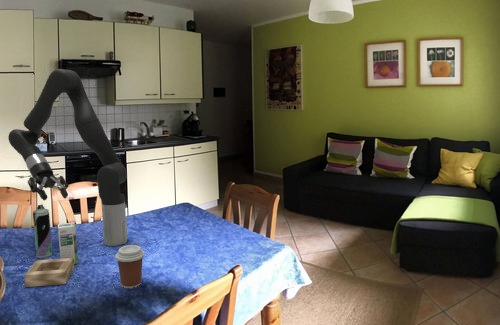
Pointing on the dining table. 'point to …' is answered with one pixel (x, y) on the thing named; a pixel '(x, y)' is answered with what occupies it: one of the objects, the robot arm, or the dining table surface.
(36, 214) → the spray can
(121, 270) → the coffee cup
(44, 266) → the collar
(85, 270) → the dining table surface
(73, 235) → the syrup box
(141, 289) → the dining table surface
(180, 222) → the dining table surface
